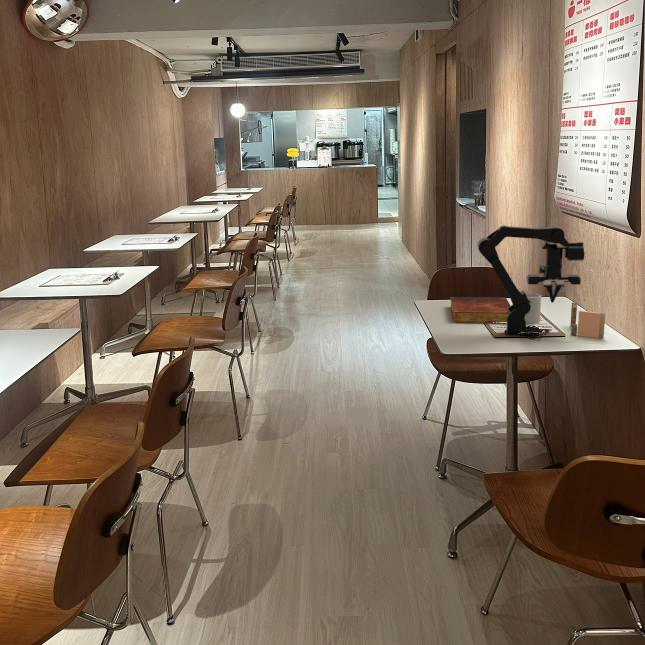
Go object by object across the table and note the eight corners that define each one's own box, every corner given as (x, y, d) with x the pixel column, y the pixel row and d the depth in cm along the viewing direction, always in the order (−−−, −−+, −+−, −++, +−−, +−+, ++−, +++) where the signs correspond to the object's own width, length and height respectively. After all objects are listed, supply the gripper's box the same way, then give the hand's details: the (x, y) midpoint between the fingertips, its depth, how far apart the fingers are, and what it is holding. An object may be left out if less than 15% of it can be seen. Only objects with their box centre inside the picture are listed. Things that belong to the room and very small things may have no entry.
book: (514, 325, 319) (515, 312, 318) (453, 324, 322) (453, 312, 320) (505, 308, 348) (506, 297, 347) (449, 308, 350) (449, 297, 349)
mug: (540, 325, 316) (541, 297, 314) (517, 324, 318) (519, 296, 316) (539, 318, 328) (541, 291, 325) (518, 317, 330) (519, 291, 327)
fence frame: (571, 335, 299) (572, 310, 297) (570, 325, 313) (571, 301, 311) (576, 335, 298) (578, 310, 296) (575, 326, 313) (577, 302, 311)
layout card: (565, 342, 290) (565, 341, 290) (564, 326, 314) (564, 325, 313) (605, 345, 287) (605, 344, 286) (601, 328, 310) (601, 327, 310)
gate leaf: (602, 338, 293) (604, 313, 290) (577, 335, 298) (578, 310, 296) (604, 337, 294) (606, 312, 292) (578, 334, 299) (580, 309, 297)
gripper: (576, 257, 303) (573, 297, 307) (525, 257, 306) (523, 297, 309) (581, 262, 293) (579, 304, 296) (529, 262, 295) (527, 303, 299)
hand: (552, 302), depth 300 cm, fingers closed
